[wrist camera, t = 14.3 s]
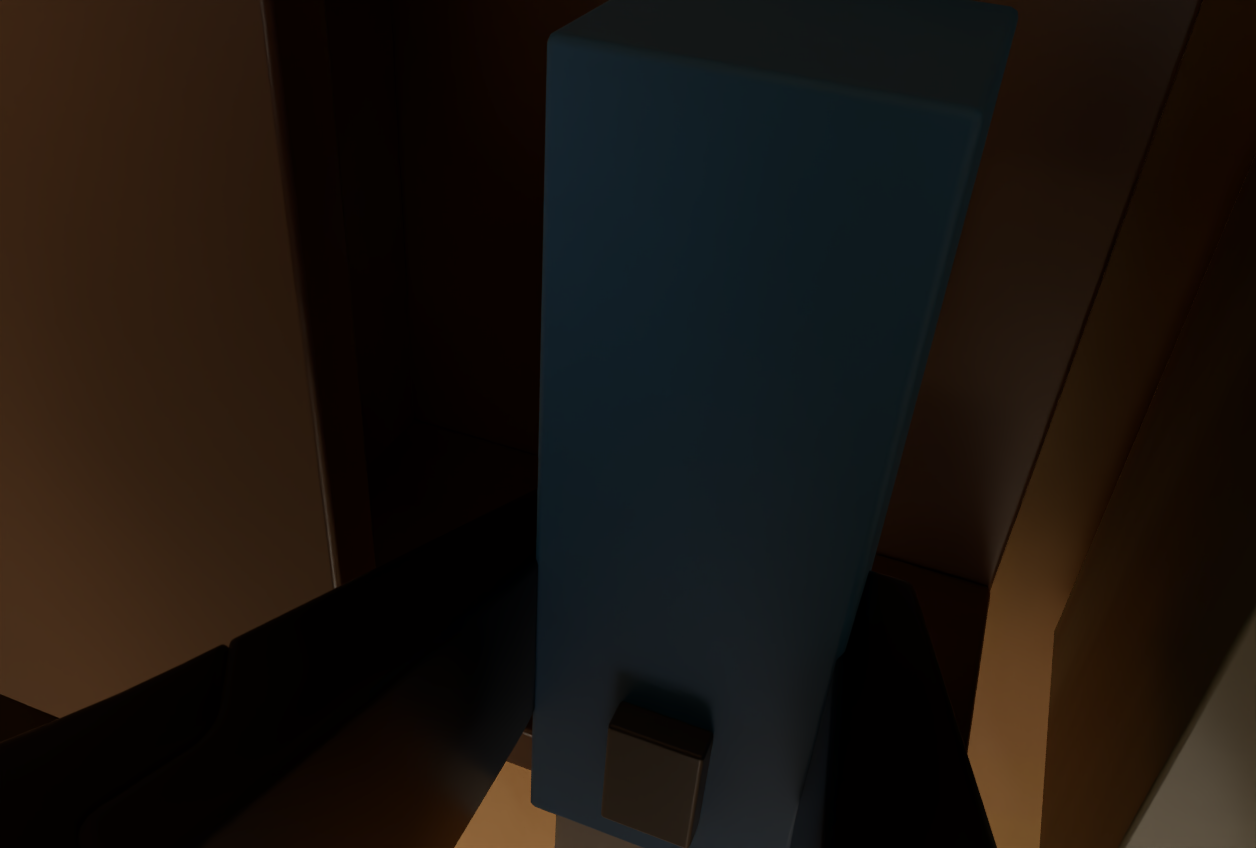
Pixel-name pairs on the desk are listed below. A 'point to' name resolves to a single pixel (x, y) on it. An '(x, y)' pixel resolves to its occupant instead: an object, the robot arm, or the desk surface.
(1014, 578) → the desk surface
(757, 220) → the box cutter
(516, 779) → the desk surface
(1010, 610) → the desk surface
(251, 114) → the cabinet
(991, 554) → the drawer
